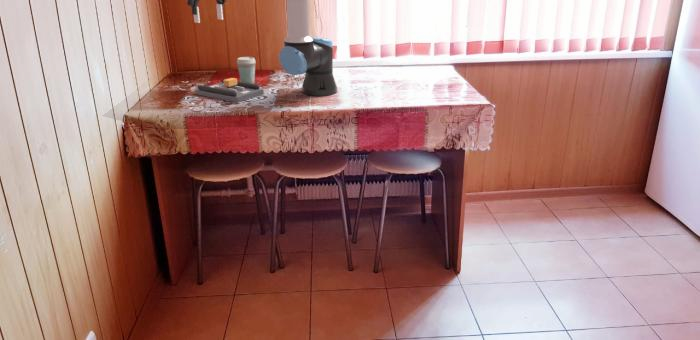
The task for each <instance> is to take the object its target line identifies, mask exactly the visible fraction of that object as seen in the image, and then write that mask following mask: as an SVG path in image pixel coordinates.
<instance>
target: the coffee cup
mask: <svg viewBox="0 0 700 340" xmlns="http://www.w3.org/2000/svg"><path fill="white" fill-rule="evenodd" d="M256 63H257V62H256V59H255V57H253V56H240V57H238V58H237V60H236V65H237V70H238V73H239V79H240V82H246V83H252V84H255V81H256V80H255V76H256Z"/></svg>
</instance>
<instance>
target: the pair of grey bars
mask: <svg viewBox="0 0 700 340" xmlns="http://www.w3.org/2000/svg"><path fill="white" fill-rule="evenodd" d="M225 79H226V78H222V79H221V81H220V83H221V82H222V83H224V81H223V80H225ZM208 86H209V85H201V84H198V85H197V89H199V90H203V91H209V92H214V93H219V94H225V95H230V96H236V95H237V92H235V91H230V90H224V89H219V88H213V87H208ZM236 86H242V87H248V88H253V89H261V88H260V84H257V83H254V84H252V83H246V82H241V80H240V81H239V80H237V85H236Z"/></svg>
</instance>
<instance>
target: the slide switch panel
mask: <svg viewBox="0 0 700 340" xmlns="http://www.w3.org/2000/svg"><path fill="white" fill-rule="evenodd" d="M207 86H208V87H213V88H219V89H224V90H230V91H235V92H237V95H236V96H230V95H225V94H219V93H214V92H209V91H203V90H199V89H198V88H197V89H195V95H198V96H203V97H208V98H213V99H218V100H223V101H228V102H234V103H240V102H241V103H242V102H243V101H246V100H250V99H252V98H253V99H254V98H256V97H258V96H261V95H264V88H259V89H253V88H248V87H242V86H236V85H235V89H231V88H227V86H224V83H222V82H221V81H220V82H218V83H215V84H214V83H213V84H211V85H207Z"/></svg>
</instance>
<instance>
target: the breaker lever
mask: <svg viewBox="0 0 700 340" xmlns="http://www.w3.org/2000/svg"><path fill="white" fill-rule="evenodd" d="M224 79H225V80H223V81H224V86H227V88H231V89H235V85H237V81H238V78H237V77H236V78H235V77H230V78H224Z"/></svg>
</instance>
